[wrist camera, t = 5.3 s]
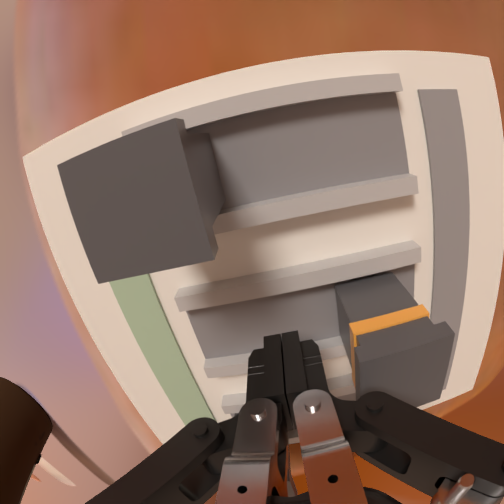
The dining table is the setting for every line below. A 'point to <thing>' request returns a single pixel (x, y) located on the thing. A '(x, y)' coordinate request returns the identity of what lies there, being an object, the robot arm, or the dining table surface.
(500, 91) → the dining table surface
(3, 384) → the olive oil
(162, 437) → the switch board
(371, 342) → the breaker handle
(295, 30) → the dining table surface
